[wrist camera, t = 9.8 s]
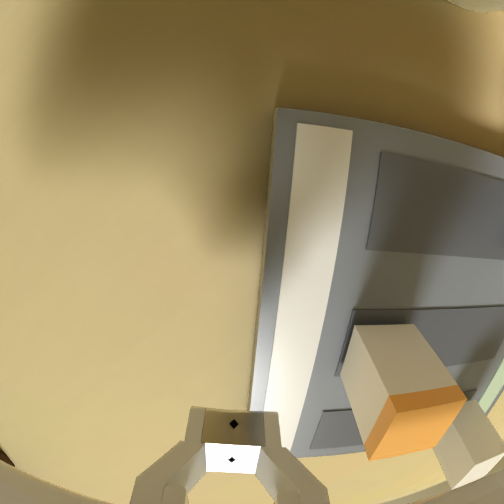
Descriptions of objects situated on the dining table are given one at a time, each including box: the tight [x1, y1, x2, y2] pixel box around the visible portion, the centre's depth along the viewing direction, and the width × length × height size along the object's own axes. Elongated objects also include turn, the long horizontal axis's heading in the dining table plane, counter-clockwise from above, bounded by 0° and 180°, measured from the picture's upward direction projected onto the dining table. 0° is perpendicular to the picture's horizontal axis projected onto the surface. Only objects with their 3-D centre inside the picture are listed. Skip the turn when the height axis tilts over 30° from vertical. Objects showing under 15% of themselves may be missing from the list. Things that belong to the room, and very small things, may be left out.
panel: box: [248, 107, 504, 458], centre depth 14 cm, size 19×19×2 cm
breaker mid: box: [340, 324, 467, 461], centre depth 11 cm, size 3×3×5 cm
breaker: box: [433, 399, 504, 489], centre depth 14 cm, size 3×3×5 cm
